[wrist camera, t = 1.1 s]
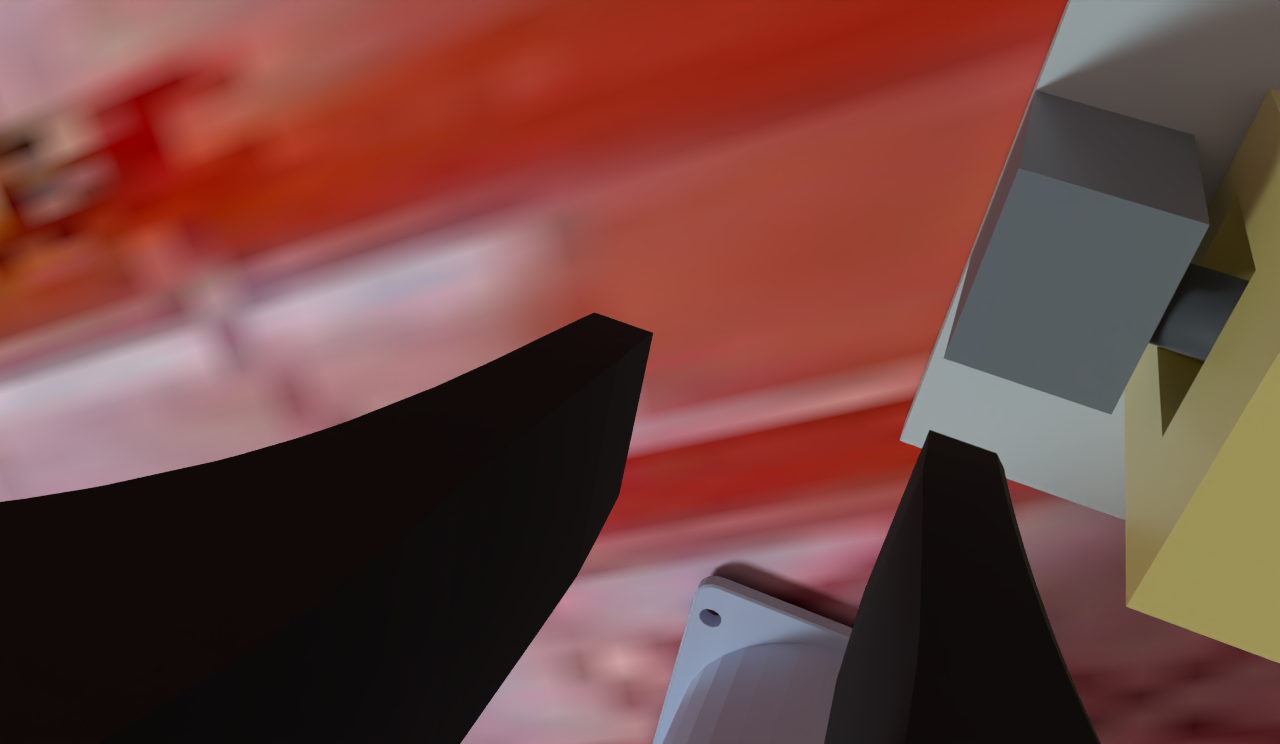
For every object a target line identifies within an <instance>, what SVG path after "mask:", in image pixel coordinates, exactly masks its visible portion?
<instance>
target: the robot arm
mask: <svg viewBox="0 0 1280 744" xmlns="http://www.w3.org/2000/svg"><path fill="white" fill-rule="evenodd" d="M652 336H653V333H651V332H649V331H646V330H643V329H640V328H637V327H634V326H631V325H629V324H626V323H623V322H620V321H617V320H614V319H611V318H609V317H606V316H603V315H600V314H597V313H593V314H590V315H588V316H586V317H584V318H581V319H579V320H577V321H575V322H573V323H571V324H569V325H567V326H564V327H562V328H560V329H558V330H556V331H554V332H552V333H550V334H548V335H545V336H543V337H541V338H539V339H537V340H535V341H533V342H531V343H529V344H527V345H525V346H523V347H521V348H519V349H516V350H514V351H512V352H510V353H508V354H506V355H504V356H502V357H500V358H498V359H496V360H493V361H491V362H489V363H487V364H485V365H483V366H480V367H478V368H476V369H474V370H472V371H469V372H467V373H465V374H463V375H461V376H458V377H456V378H454V379H452V380H450V381H447V382H445V383H443V384H441V385H438V386H436V387H434V388H431V389H429V390H426V391H424V392H421V393H419V394H416V395H413V396H411V397H408V398H406V399H403V400H401V401H398V402H396V403H393V404H391V405H388V406H386V407H383V408H380V409H378V410H375V411H373V412H370V413H368V414H365V415H363V416H360V417H358V418H355V419H353V420H350V421H347V422H344V423H341V424H339V425H336V426H333V427H330V428H327V429H324V430H321V431H318V432H315V433H312V434H309V435H306V436H302V437H299V438H296V439H293V440H289V441H286V442H283V443H279V444H276V445H272V446H269V447H265V448H262V449H258V450H255V451H252V452H248V453H245V454H241V455H238V456H234V457H230V458H226V459H222V460H218V461H214V462H210V463H205V464H201V465H196V466H192V467H187V468H182V469H178V470H173V471H169V472H164V473H159V474H155V475H150V476H146V477H141V478H137V479H132V480H127V481H123V482H118V483H114V484H109V485H104V486H99V487H93V488H88V489H82V490H76V491H70V492H64V493H58V494H52V495H45V496H39V497H33V498H27V499H20V500H12V501H5V502H0V744H460V743H461V742H462V740H463V739H464V737H465V736H466V735H467V733H468V732H469V730H470V729H471V727H472V726H473V725H474V723H475V722H476V720H477V719H478V718H479V716H480V715H481V713H482V712H483V710H484V709H485V708H486V706H487V705H488V703H489V702H490V700H491V699H492V698H493V696H494V695H495V693H496V692H497V690H498V689H499V688H500V686H501V685H502V683H503V682H504V680H505V679H506V678H507V676H508V675H509V673H510V672H511V670H512V669H513V668H514V666H515V665H516V663H517V662H518V660H519V659H520V658H521V656H522V655H523V653H524V652H525V650H526V649H527V648H528V646H529V645H530V643H531V642H532V640H533V639H534V638H535V636H536V635H537V633H538V632H539V630H540V629H541V628H542V626H543V625H544V623H545V622H546V620H547V619H548V617H549V616H550V615H551V613H552V612H553V610H554V609H555V607H556V606H557V604H558V603H559V602H560V600H561V599H562V597H563V596H564V594H565V593H566V591H567V590H568V588H569V587H570V585H571V584H572V582H573V581H574V580H575V578H576V577H577V575H578V573H579V571H580V569H581V567H582V565H583V564H584V562H585V560H586V558H587V556H588V554H589V552H590V550H591V549H592V547H593V545H594V543H595V541H596V539H597V537H598V535H599V533H600V531H601V529H602V527H603V525H604V524H605V522H606V520H607V518H608V516H609V514H610V512H611V510H612V508H613V506H614V504H615V502H616V500H617V498H618V496H619V493H620V488H621V483H622V479H623V474H624V469H625V464H626V460H627V455H628V450H629V445H630V441H631V436H632V431H633V426H634V421H635V417H636V412H637V407H638V402H639V398H640V393H641V388H642V383H643V379H644V374H645V369H646V364H647V360H648V355H649V350H650V345H651V341H652ZM707 609H710V610H714V611H715V612H717V613H718V614H719V616H717V615H713V614H711V613H710V612H708V611H707ZM653 744H1101V743H1100V741H1099V739H1098V737H1097V735H1096V733H1095V731H1094V728H1093V726H1092V724H1091V722H1090V720H1089V717H1088V715H1087V713H1086V710H1085V708H1084V706H1083V704H1082V701H1081V699H1080V697H1079V695H1078V692H1077V690H1076V688H1075V685H1074V683H1073V681H1072V679H1071V676H1070V674H1069V671H1068V669H1067V666H1066V664H1065V661H1064V659H1063V656H1062V654H1061V651H1060V649H1059V646H1058V644H1057V641H1056V639H1055V636H1054V633H1053V630H1052V628H1051V625H1050V622H1049V619H1048V616H1047V614H1046V611H1045V608H1044V605H1043V603H1042V600H1041V597H1040V594H1039V591H1038V589H1037V586H1036V583H1035V580H1034V577H1033V574H1032V571H1031V568H1030V565H1029V562H1028V558H1027V555H1026V552H1025V548H1024V545H1023V542H1022V538H1021V535H1020V531H1019V528H1018V524H1017V521H1016V517H1015V513H1014V510H1013V506H1012V502H1011V498H1010V493H1009V489H1008V485H1007V480H1006V476H1005V471H1004V467H1003V465H1002V463H1001V461H1000V459H999V457H998V455H997V453H995V452H992V451H989V450H986V449H983V448H980V447H977V446H975V445H972V444H969V443H966V442H963V441H960V440H957V439H955V438H952V437H949V436H946V435H943V434H940V433H937V432H935V431H932V430H929V432H928V435H927V437H926V440H925V442H924V445H923V447H922V450H921V452H920V455H919V457H918V459H917V462H916V464H915V467H914V469H913V472H912V474H911V477H910V479H909V482H908V484H907V487H906V489H905V492H904V494H903V497H902V499H901V501H900V504H899V506H898V509H897V511H896V514H895V516H894V519H893V521H892V524H891V526H890V529H889V531H888V534H887V536H886V538H885V541H884V543H883V546H882V548H881V551H880V553H879V556H878V558H877V561H876V563H875V566H874V568H873V571H872V573H871V575H870V578H869V580H868V583H867V585H866V588H865V591H864V594H863V597H862V600H861V603H860V606H859V610H858V613H857V616H856V619H855V622H854V625H853V628H851V627H848V626H846V625H843V624H840V623H838V622H835V621H833V620H830V619H828V618H825V617H823V616H820V615H818V614H815V613H813V612H810V611H807V610H805V609H802V608H800V607H797V606H795V605H792V604H790V603H787V602H785V601H782V600H779V599H777V598H774V597H772V596H769V595H767V594H764V593H762V592H759V591H757V590H754V589H751V588H749V587H746V586H744V585H741V584H739V583H736V582H734V581H731V580H729V579H726V578H723V577H719V576H708V577H706V578H705V579H703V580H702V581H701V583H700V584H699V586H698V588H697V590H696V592H695V595H694V599H693V602H692V606H691V609H690V613H689V616H688V620H687V624H686V627H685V631H684V634H683V638H682V641H681V645H680V648H679V652H678V655H677V659H676V662H675V666H674V670H673V673H672V677H671V680H670V684H669V687H668V691H667V694H666V698H665V701H664V705H663V709H662V712H661V716H660V719H659V723H658V726H657V730H656V733H655V737H654V740H653Z"/></svg>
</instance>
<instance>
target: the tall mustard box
mask: <svg viewBox="0 0 1280 744" xmlns="http://www.w3.org/2000/svg"><path fill="white" fill-rule="evenodd" d="M1207 212H1208V217H1209V223H1210V225H1209V227H1208V229H1207V231H1206V233H1205V235H1204V237H1203V239H1202V241H1201V243H1200V245H1199V247H1198V249H1197V250H1196V252H1195V254H1194V256H1193V258H1192V260H1191V262H1190V263H1192V264H1196V265H1199V266H1202V267H1206V268H1209V269H1212V270H1215V271H1219V272H1222V273H1225V274H1228V275H1232V276H1235V277H1238V278H1242V279H1245V280H1248V281H1250V282H1249V283H1248V285H1247V287H1246V289H1245V290H1244V292H1243V294H1242V296H1241V298H1240V299H1239V301H1238V303H1237V305H1236V307H1235V308H1234V310H1233V312H1232V314H1231V316H1230V317H1229V319H1228V321H1227V323H1226V324H1225V326H1224V328H1223V330H1222V332H1221V333H1220V335H1219V337H1218V339H1217V341H1216V342H1215V344H1214V346H1213V348H1212V350H1211V351H1210V353H1209V355H1208V357H1207V358H1206V360H1205V361H1203V360H1200V359H1197V358H1194V357H1191V356H1187V355H1184V354H1181V353H1178V352H1175V351H1172V350H1169V349H1166V348H1163V347H1159V346H1156V345H1153V344H1150V343H1148V345H1147V347H1146V349H1145V351H1144V353H1143V355H1142V357H1141V359H1140V361H1139V362H1138V364H1137V366H1136V368H1135V370H1134V372H1133V374H1132V376H1131V378H1130V380H1129V382H1128V384H1127V386H1126V388H1125V390H1124V419H1125V538H1126V607H1128V608H1131V609H1134V610H1137V611H1139V612H1142V613H1145V614H1147V615H1150V616H1153V617H1155V618H1158V619H1161V620H1164V621H1166V622H1169V623H1172V624H1174V625H1177V626H1180V627H1183V628H1185V629H1188V630H1191V631H1193V632H1196V633H1199V634H1201V635H1204V636H1207V637H1210V638H1212V639H1215V640H1218V641H1220V642H1223V643H1226V644H1228V645H1231V646H1234V647H1237V648H1239V649H1242V650H1245V651H1247V652H1250V653H1253V654H1256V655H1258V656H1261V657H1264V658H1266V659H1269V660H1272V661H1274V662H1277V663H1280V91H1278V90H1275V89H1271V88H1270V89H1269V91H1268V93H1267V95H1266V97H1265V99H1264V101H1263V103H1262V104H1261V106H1260V108H1259V110H1258V112H1257V114H1256V116H1255V118H1254V120H1253V122H1252V124H1251V126H1250V128H1249V130H1248V132H1247V134H1246V136H1245V138H1244V140H1243V142H1242V144H1241V145H1240V147H1239V149H1238V151H1237V153H1236V155H1235V157H1234V159H1233V161H1232V163H1231V165H1230V167H1229V169H1228V171H1227V173H1226V175H1225V177H1224V179H1223V181H1222V183H1221V185H1220V186H1219V188H1218V190H1217V192H1216V194H1215V196H1214V198H1213V200H1212V202H1211V204H1210V206H1209V208H1208V210H1207Z"/></svg>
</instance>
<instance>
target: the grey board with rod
mask: <svg viewBox="0 0 1280 744" xmlns="http://www.w3.org/2000/svg"><path fill="white" fill-rule="evenodd" d="M1270 88H1271V89H1275V90H1278V91H1280V0H1068V2H1067V5H1066V7H1065V10H1064V12H1063V15H1062V17H1061V20H1060V23H1059V25H1058V28H1057V30H1056V33H1055V36H1054V38H1053V41H1052V43H1051V46H1050V48H1049V51H1048V54H1047V56H1046V59H1045V61H1044V64H1043V67H1042V69H1041V72H1040V74H1039V77H1038V79H1037V82H1036V85H1035V87H1034V90H1033V92H1032V95H1031V98H1030V100H1029V103H1028V105H1027V108H1026V110H1025V113H1024V116H1023V118H1022V121H1021V123H1020V126H1019V129H1018V131H1017V134H1016V136H1015V139H1014V142H1013V144H1012V147H1011V149H1010V152H1009V154H1008V157H1007V160H1006V162H1005V165H1004V167H1003V170H1002V173H1001V175H1000V178H999V180H998V183H997V185H996V188H995V191H994V193H993V196H992V198H991V201H990V204H989V206H988V209H987V211H986V214H985V216H984V219H983V222H982V224H981V227H980V229H979V232H978V235H977V237H976V240H975V242H974V245H973V248H972V250H971V253H970V255H969V258H968V260H967V263H966V266H965V268H964V271H963V273H962V276H961V279H960V281H959V284H958V286H957V289H956V291H955V294H954V297H953V299H952V302H951V304H950V307H949V310H948V312H947V315H946V317H945V320H944V322H943V325H942V328H941V330H940V333H939V335H938V338H937V341H936V343H935V346H934V348H933V351H932V353H931V356H930V359H929V361H928V364H927V366H926V369H925V372H924V374H923V377H922V379H921V382H920V385H919V387H918V390H917V392H916V395H915V397H914V400H913V403H912V405H911V408H910V410H909V413H908V416H907V418H906V421H905V425H904V428H903V431H902V435H901V438H900V441H903V442H905V443H908V444H911V445H914V446H917V447H919V448H922V447H923V445H924V442H925V440H926V437H927V435H928V432H929V430H932V431H935V432H937V433H940V434H943V435H946V436H949V437H952V438H955V439H957V440H960V441H963V442H966V443H969V444H972V445H975V446H977V447H980V448H983V449H986V450H989V451H992V452H995V453H997V455H998V457H999V459H1000V461H1001V463H1002V465H1003V467H1004V471H1005V476H1006V478H1007V479H1010V480H1013V481H1015V482H1018V483H1021V484H1024V485H1027V486H1030V487H1032V488H1035V489H1038V490H1041V491H1044V492H1046V493H1049V494H1052V495H1055V496H1058V497H1061V498H1063V499H1066V500H1069V501H1072V502H1075V503H1078V504H1080V505H1083V506H1086V507H1089V508H1092V509H1094V510H1097V511H1100V512H1103V513H1106V514H1109V515H1111V516H1114V517H1117V518H1120V519H1123V520H1125V419H1124V390H1125V388H1126V386H1127V384H1128V382H1129V380H1130V378H1131V376H1132V374H1133V372H1134V370H1135V368H1136V366H1137V364H1138V362H1139V361H1140V359H1141V357H1142V355H1143V353H1144V351H1145V349H1146V347H1147V345H1148V343H1150V344H1153V345H1156V346H1159V347H1163V348H1166V349H1169V350H1172V351H1175V352H1178V353H1181V354H1184V355H1187V356H1191V357H1194V358H1197V359H1200V360H1203V361H1205V360H1206V358H1207V357H1208V355H1209V353H1210V351H1211V350H1212V348H1213V346H1214V344H1215V342H1216V341H1217V339H1218V337H1219V335H1220V333H1221V332H1222V330H1223V328H1224V326H1225V324H1226V323H1227V321H1228V319H1229V317H1230V316H1231V314H1232V312H1233V310H1234V308H1235V307H1236V305H1237V303H1238V301H1239V299H1240V298H1241V296H1242V294H1243V292H1244V290H1245V289H1246V287H1247V285H1248V283H1249V282H1250V281H1248V280H1245V279H1242V278H1238V277H1235V276H1232V275H1228V274H1225V273H1222V272H1219V271H1215V270H1212V269H1209V268H1206V267H1202V266H1199V265H1196V264H1192V263H1190V262H1191V260H1192V258H1193V256H1194V254H1195V252H1196V250H1197V249H1198V247H1199V245H1200V243H1201V241H1202V239H1203V237H1204V235H1205V233H1206V231H1207V229H1208V227H1209V225H1210V223H1209V217H1208V212H1207V210H1208V208H1209V206H1210V204H1211V202H1212V200H1213V198H1214V196H1215V194H1216V192H1217V190H1218V188H1219V186H1220V185H1221V183H1222V181H1223V179H1224V177H1225V175H1226V173H1227V171H1228V169H1229V167H1230V165H1231V163H1232V161H1233V159H1234V157H1235V155H1236V153H1237V151H1238V149H1239V147H1240V145H1241V144H1242V142H1243V140H1244V138H1245V136H1246V134H1247V132H1248V130H1249V128H1250V126H1251V124H1252V122H1253V120H1254V118H1255V116H1256V114H1257V112H1258V110H1259V108H1260V106H1261V104H1262V103H1263V101H1264V99H1265V97H1266V95H1267V93H1268V91H1269V89H1270Z"/></svg>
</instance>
